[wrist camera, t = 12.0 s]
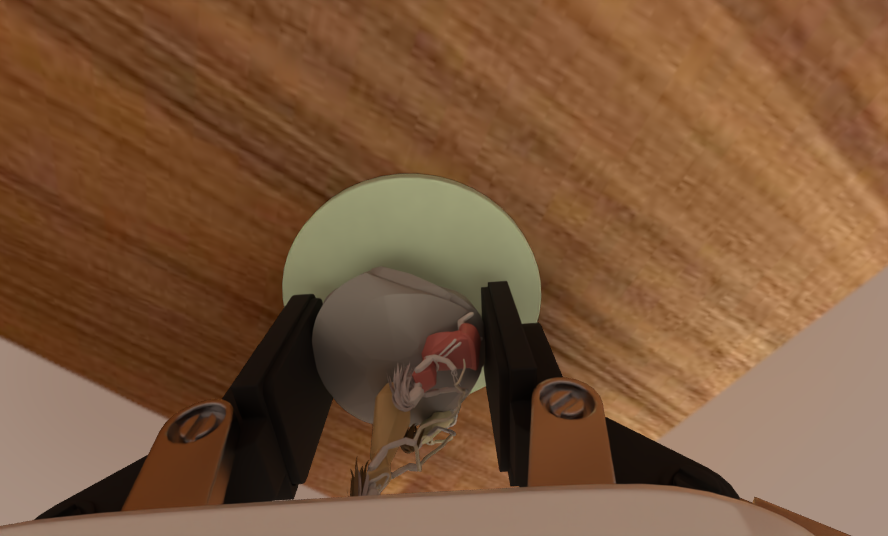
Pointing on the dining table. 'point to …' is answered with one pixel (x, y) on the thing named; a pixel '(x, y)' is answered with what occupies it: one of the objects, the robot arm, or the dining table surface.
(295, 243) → the mat
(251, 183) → the dining table surface
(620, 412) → the dining table surface
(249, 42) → the dining table surface
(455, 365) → the figurine
